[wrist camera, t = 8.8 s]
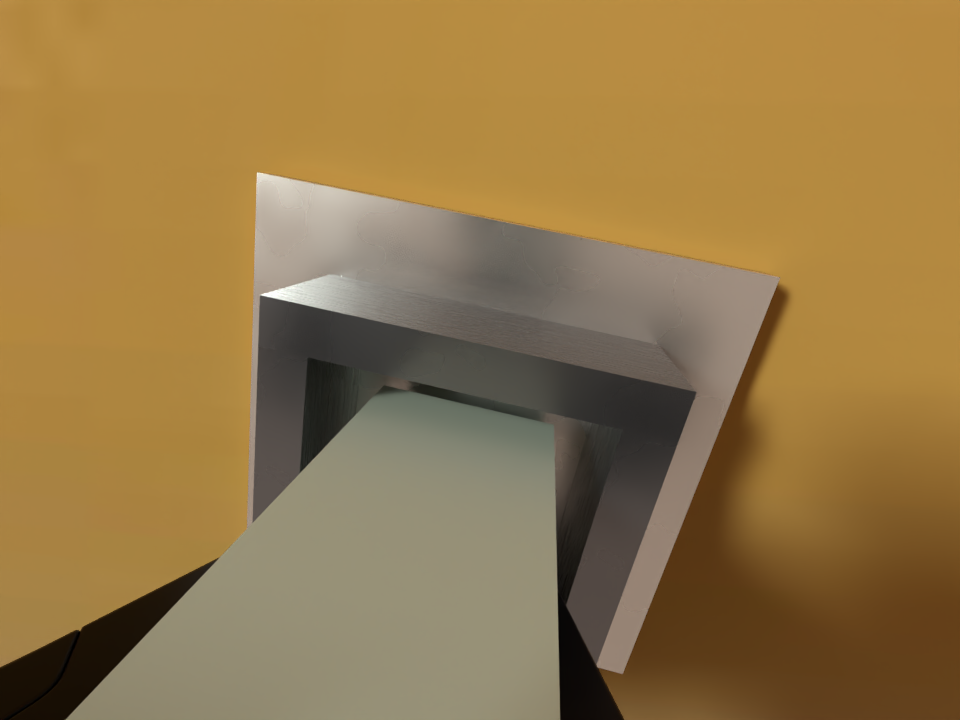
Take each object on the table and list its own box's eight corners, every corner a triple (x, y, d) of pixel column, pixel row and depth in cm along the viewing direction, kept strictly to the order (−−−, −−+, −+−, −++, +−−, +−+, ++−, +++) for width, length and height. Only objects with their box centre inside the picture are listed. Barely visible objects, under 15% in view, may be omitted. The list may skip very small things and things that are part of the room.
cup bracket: (618, 650, 15) (641, 792, 11) (260, 554, 16) (174, 657, 12) (764, 273, 11) (870, 303, 7) (275, 174, 12) (155, 159, 8)
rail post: (516, 564, 12) (435, 1463, 3) (365, 525, 12) (-62, 1257, 4) (553, 424, 11) (570, 1303, 2) (383, 385, 11) (-211, 1011, 2)
